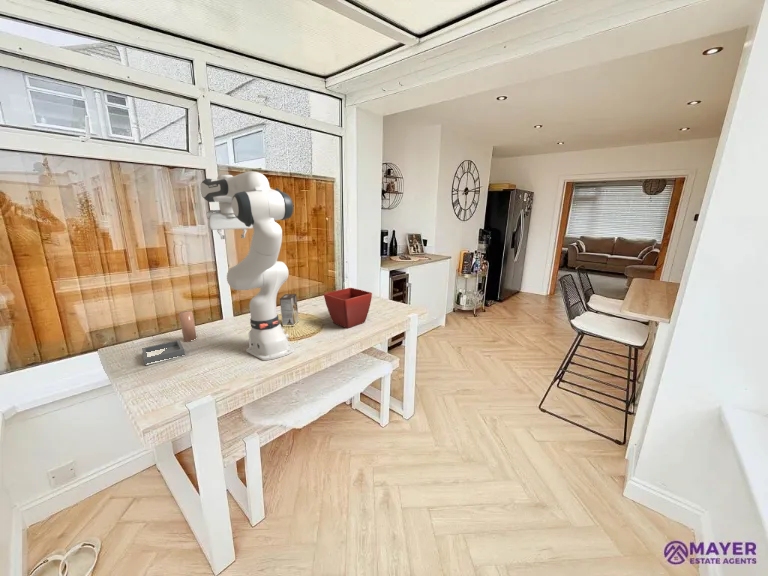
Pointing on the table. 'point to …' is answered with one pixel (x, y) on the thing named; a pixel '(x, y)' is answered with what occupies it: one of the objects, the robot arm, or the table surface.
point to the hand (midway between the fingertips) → (233, 238)
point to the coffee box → (289, 309)
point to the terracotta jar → (187, 325)
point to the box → (172, 351)
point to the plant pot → (348, 306)
